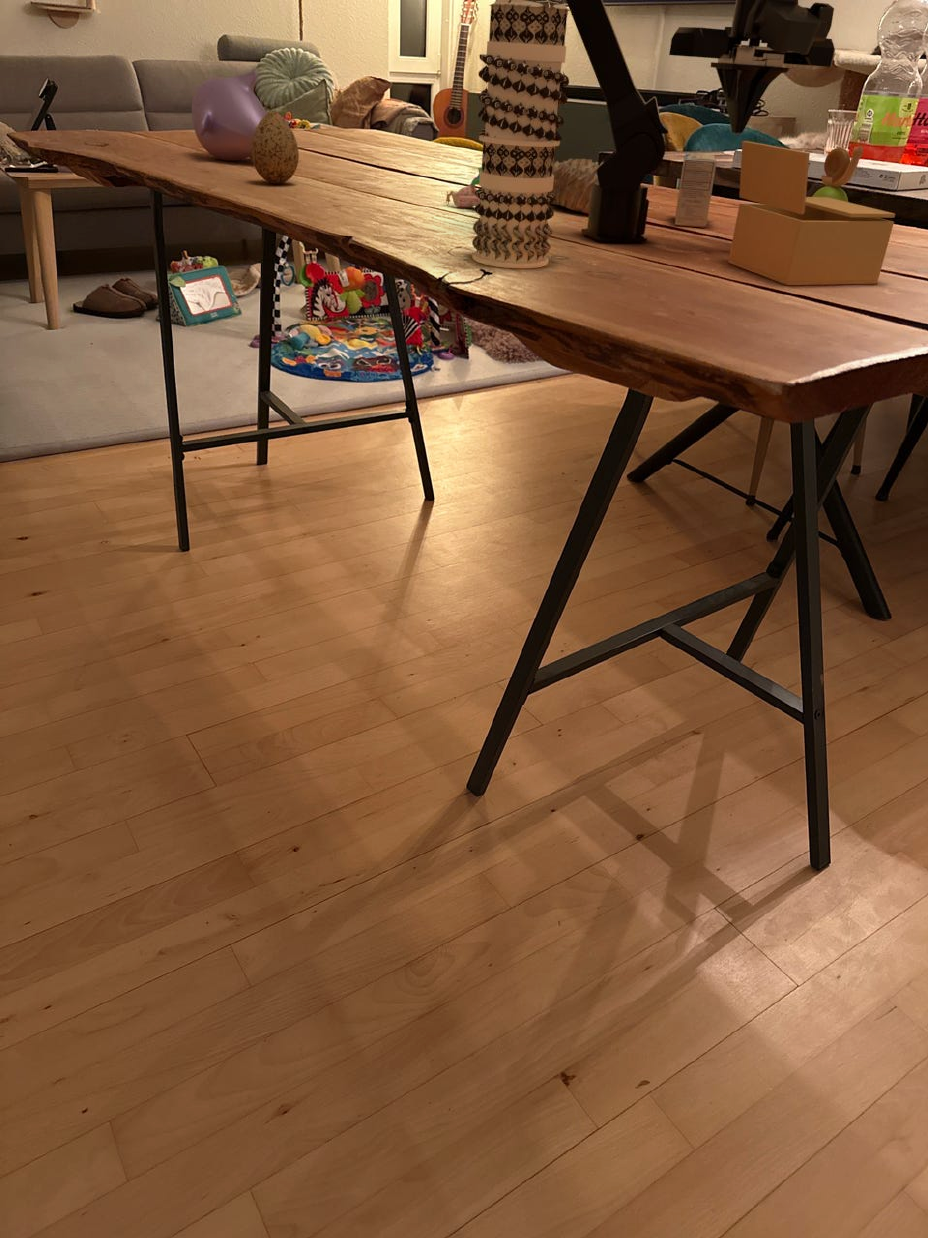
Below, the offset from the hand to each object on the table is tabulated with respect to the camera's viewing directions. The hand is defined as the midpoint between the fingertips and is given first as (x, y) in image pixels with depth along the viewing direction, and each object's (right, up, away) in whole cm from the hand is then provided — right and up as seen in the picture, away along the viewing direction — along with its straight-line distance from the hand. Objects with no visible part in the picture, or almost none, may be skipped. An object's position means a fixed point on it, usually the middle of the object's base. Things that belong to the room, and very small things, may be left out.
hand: (737, 132), depth 111 cm
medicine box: (0, -1, +23) cm, 23 cm away
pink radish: (-29, 0, +22) cm, 36 cm away
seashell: (-15, +3, +29) cm, 32 cm away
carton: (+6, -18, -4) cm, 20 cm away
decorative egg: (-62, +10, +35) cm, 72 cm away
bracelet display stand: (-27, -18, -7) cm, 34 cm away
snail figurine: (+22, +1, +28) cm, 35 cm away
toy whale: (-73, +24, +56) cm, 95 cm away
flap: (+1, -11, -12) cm, 16 cm away
